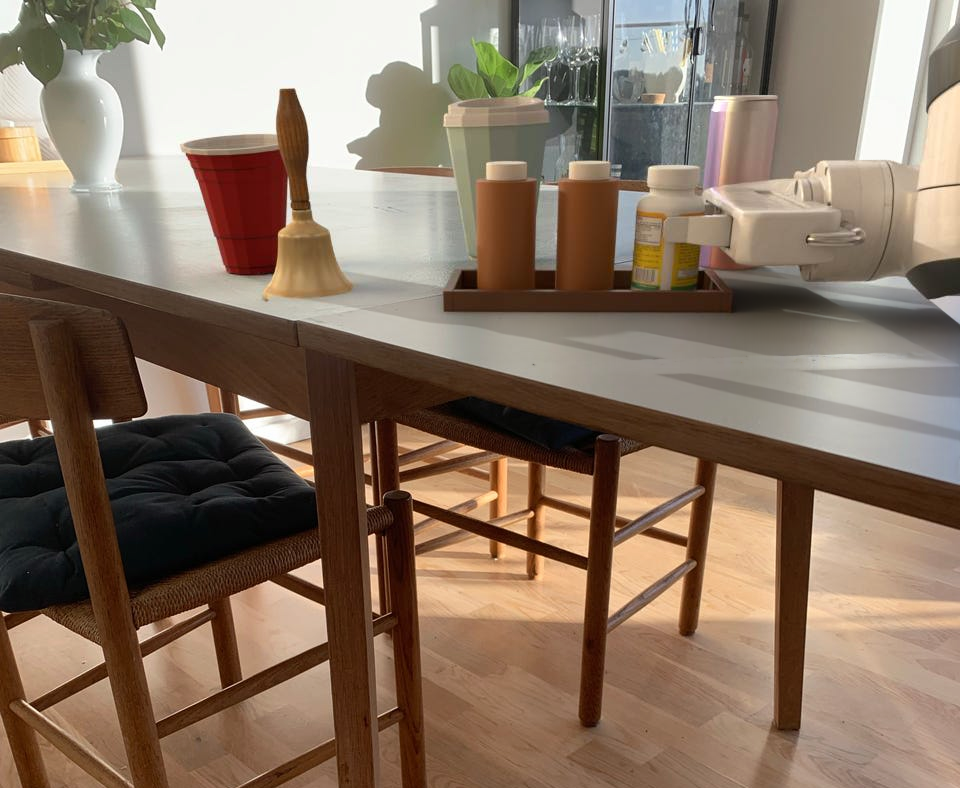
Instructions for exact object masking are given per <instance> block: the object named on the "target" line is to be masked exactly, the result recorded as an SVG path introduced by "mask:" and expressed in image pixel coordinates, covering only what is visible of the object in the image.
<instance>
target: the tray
mask: <svg viewBox="0 0 960 788" xmlns="http://www.w3.org/2000/svg"><path fill="white" fill-rule="evenodd" d="M555 277H556V268H535V290H477V268H453V270H452V272H451V274H450V276H449V279H448V281H447V282H446V285H445V287H444V288H443V291H442V306H443V312H444V313H473V312H474V313H658V314H659V313H661V314H662V313H664V314H665V313H669V314H670V313H673V314H674V313H682V314H684V313H685V314H686V313H690V314H691V313H692V314H693V313H695V314H696V313H698V314H699V313H702V314H704V313H705V314H706V313H707V314H708V313H709V314H712V313H713V314H723V313H724V314H731V311H732V305H733V297H734V291H733V290H732V289H731V288H730V287H729V286H728V285H727V284H726V282H724V280H723V279H722V278H721V277H720V275H718V274H717V273H716V272H715V270H712V269H705V268H699V270H698V279H697V288H696V290H631V280H632V268H614V280H613V290H555Z"/></svg>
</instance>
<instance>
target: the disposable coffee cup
mask: <svg viewBox="0 0 960 788" xmlns="http://www.w3.org/2000/svg"><path fill="white" fill-rule="evenodd" d="M447 110H448V111H447V112H446V113H444V115H443V125H442V126H443V127H445V129H446V136H447V142H448V147H449V148H448V149H449V153H450V159H451V164H452V165H451V166H452V171H453V175H454V176H453V177H454V182H455V183H454V184H455V187H456V194H457V201H458V205H459V212H460V218H461V224H462V229H463V236H464V239H465V240H464V241H465V245H466V252H467V255H468V256H469V259H470V261H471V262H477V194H476V180H477V179H481V178H486V164H487V163H488V162H497V161H519V162H526V163H527V178H534V179H537V198H536V216H537V214H538V205H539V199H540V189H541V181H542V174H543V167H544V166H543V165H544V158H545V149H546V142H547V134H548V126H549V123H551V120H550V111H549V110H548V109H545V101H543V100H542V99H541V98H540V97H532V96H530V97H529V96H503V97H502V96H499V97H479V98H473V99H466V100H459V101H457V102H453V103H450V104H448V105H447Z"/></svg>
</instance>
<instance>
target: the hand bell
mask: <svg viewBox="0 0 960 788" xmlns="http://www.w3.org/2000/svg"><path fill="white" fill-rule="evenodd" d="M278 94H279V95H278V103H277V109H276V115H275V131H276V132H275V134H277V140H278V146H279V150H280V153H281V156H282V159H283V162H284V164H285V167H286V170H287V174H288V188H289V189H288V190H289V200H290V205H289V206H290V209H291V221H290V223H289V224H288V225H287V224H286V227H285V228H283V229H282V230H280V231H279V234H278V259H277V265H276V269H275V272H273V275H272V278H271V280H270V282H269V284H267V285H266V287H265V288H264V290H263V292H262V298H263V299H264V300H266V301H269V300H270V299H271V297H272V296H273V297H279V298H290V299H291V298H292V299H309V298H311V299H312V298H324V297H332V296H339V295H343V294H347V293H351V292H352V291H354V290H355V288H356V287H355V285H354V284H353V283H352V282H350V280H349V279H348V278H347V277H346V276H345V274H344V273H343V271H342V270H341V269H342V268H341V267H340V265H339V263H338V261H337V257H336V254H335V251H334V246H333V242H332V237H331V233H330V230H329V229H328V228H326V226H323V225H321V224H319V223H318V222H317V221H315V219H314V217H313V210H312V204H311V201H310V193H309V185H308V177H307V173H308V172H307V171H308V170H307V169H308V161H309V156H310V138H309V128H308V123H307V119H306V115H305V113H304V110H303V107H302V105H301V102H300V100H299V97H298V94H297V90H296V88H294V87H293V88H290V87H289V88H279V92H278Z"/></svg>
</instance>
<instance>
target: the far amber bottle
mask: <svg viewBox="0 0 960 788" xmlns="http://www.w3.org/2000/svg"><path fill="white" fill-rule="evenodd" d="M476 194H477V261H476V269H477V290H535V269H536V247H537V246H536V245H537V244H536V243H537V215H536V198H537V179H534V178H527V163H526V162H519V161H497V162H488V163H487V164H486V178H481V179H477V180H476Z"/></svg>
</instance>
